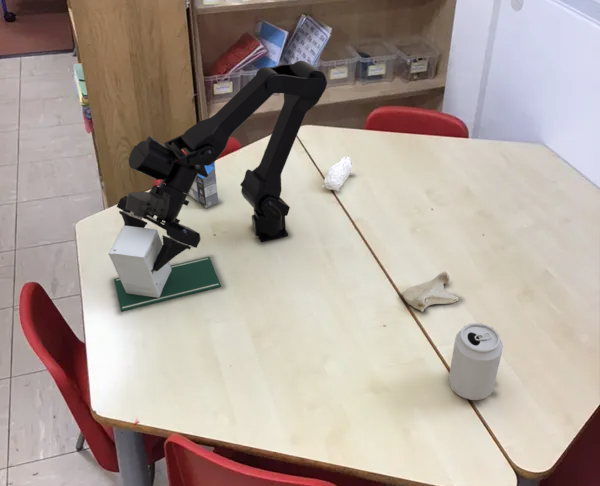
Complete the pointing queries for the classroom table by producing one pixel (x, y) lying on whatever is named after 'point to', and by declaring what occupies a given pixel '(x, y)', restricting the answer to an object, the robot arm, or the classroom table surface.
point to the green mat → (174, 284)
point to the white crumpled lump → (338, 174)
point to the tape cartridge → (205, 188)
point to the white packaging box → (139, 261)
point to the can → (475, 361)
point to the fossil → (430, 293)
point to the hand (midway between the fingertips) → (139, 261)
